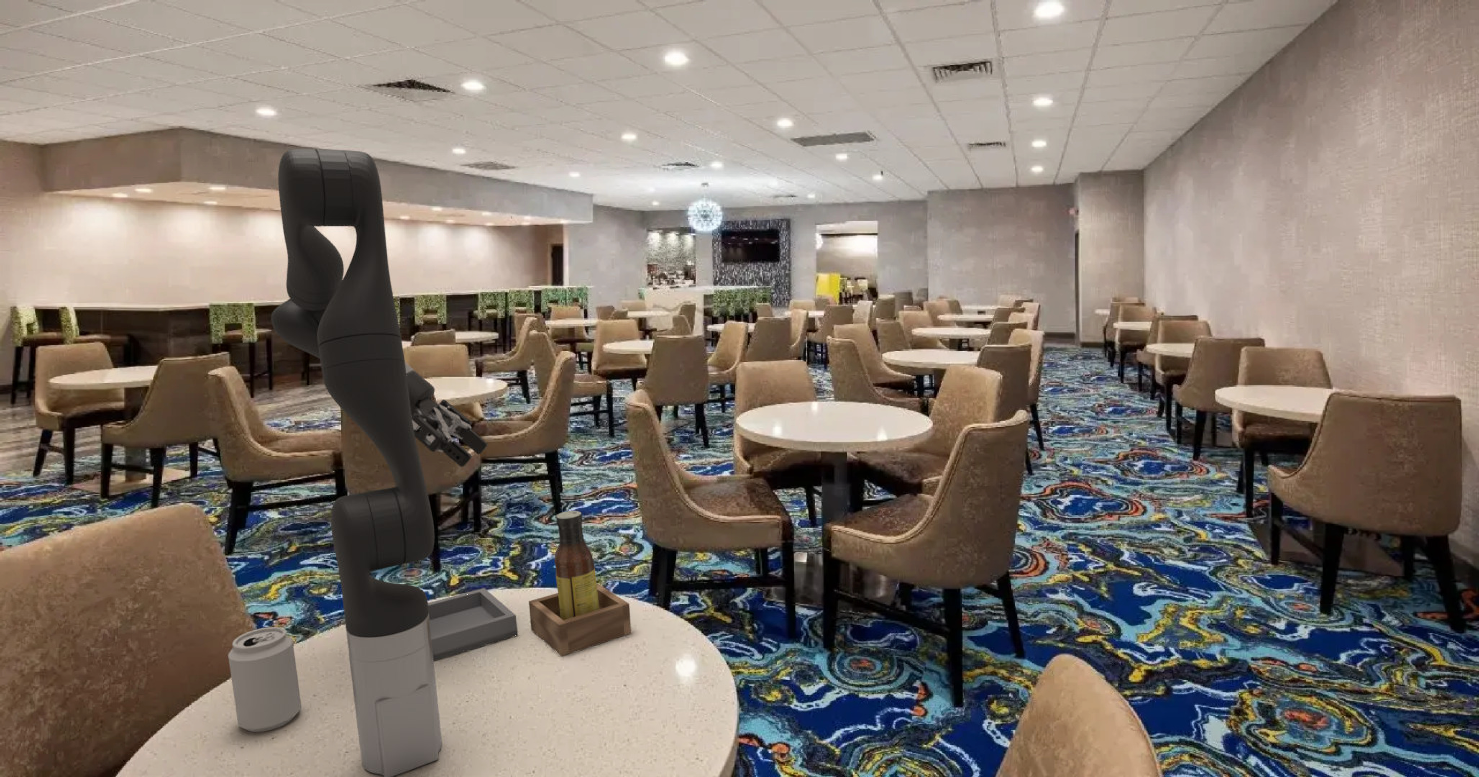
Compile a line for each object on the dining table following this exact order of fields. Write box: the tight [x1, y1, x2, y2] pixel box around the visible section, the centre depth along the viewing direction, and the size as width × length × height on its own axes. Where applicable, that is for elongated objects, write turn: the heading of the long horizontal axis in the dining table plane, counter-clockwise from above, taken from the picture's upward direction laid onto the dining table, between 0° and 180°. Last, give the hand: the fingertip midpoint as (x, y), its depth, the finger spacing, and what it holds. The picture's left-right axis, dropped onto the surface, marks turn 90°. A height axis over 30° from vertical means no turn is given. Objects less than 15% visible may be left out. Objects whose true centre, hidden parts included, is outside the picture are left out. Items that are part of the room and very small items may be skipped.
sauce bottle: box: [554, 510, 599, 620], centre depth 132 cm, size 6×6×20 cm
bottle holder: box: [528, 582, 632, 657], centre depth 133 cm, size 12×12×5 cm
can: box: [227, 626, 302, 733], centre depth 110 cm, size 8×8×12 cm
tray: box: [428, 587, 519, 662], centre depth 135 cm, size 15×15×4 cm
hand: (476, 455), depth 129 cm, fingers open, 8 cm apart
